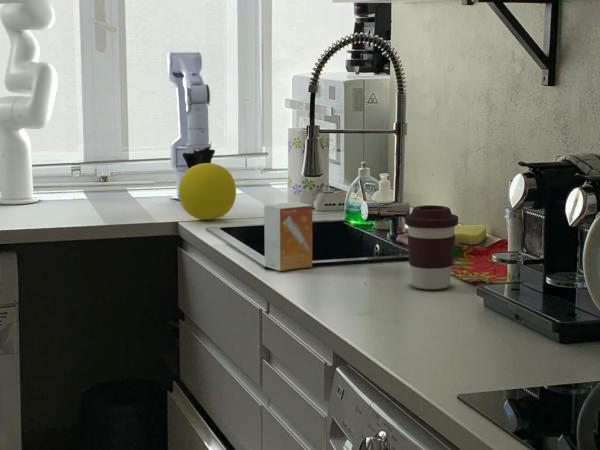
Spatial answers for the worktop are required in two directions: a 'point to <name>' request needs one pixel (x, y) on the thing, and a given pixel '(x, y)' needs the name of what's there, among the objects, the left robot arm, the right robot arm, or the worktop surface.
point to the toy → (207, 191)
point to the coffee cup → (431, 245)
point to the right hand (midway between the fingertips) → (199, 176)
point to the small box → (288, 236)
